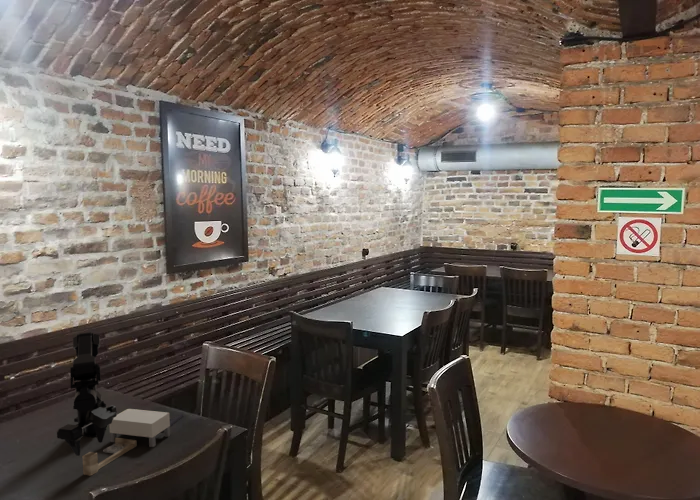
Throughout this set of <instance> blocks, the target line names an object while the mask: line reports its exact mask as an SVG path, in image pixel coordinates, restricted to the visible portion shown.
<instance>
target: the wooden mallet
mask: <svg viewBox="0 0 700 500" xmlns="http://www.w3.org/2000/svg"><path fill="white" fill-rule="evenodd" d="M114 443H122V444H128V446H126V447H125V448H123V449H121V450H120V451H118V452H117V453H115V454H112V455H109V456H108V457H107V458H105V459H103V460H102V461H100V462H99V459H98V452H93V451H89V452H87V453H85V454H83V455H82V471H83V472H82V473H83V475H84V476H93V475H94V474H96V473H98V472H99V470H100V469H101V468H103V467H105V466H106V465H108V464H109V463H112V462H113V461H114V460H116V459H118V458H119V457H122V456H123V455H124V454H125V453H127V452H129V451H131V450H133V449H134V448H136V447H137V440H135V439H128V438H122V437H117V438H115V442H114Z"/></svg>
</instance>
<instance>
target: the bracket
mask: <svg viewBox="0 0 700 500" xmlns="http://www.w3.org/2000/svg"><path fill="white" fill-rule="evenodd" d="M183 418H184V414H182V413H180V414H179V415H178V416H176V417H173V419H172V418H170V428H172V427H173V426H174V425H175V424H176V423H177V422H178V420H179V421H180V420H182V419H183ZM173 424H174V425H173ZM162 432H163V433H164V430H163V431H162Z"/></svg>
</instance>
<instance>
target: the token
mask: <svg viewBox="0 0 700 500" xmlns="http://www.w3.org/2000/svg"><path fill="white" fill-rule="evenodd" d="M126 446H128V444H122V443H115V442H113V444H111V445H109V446H107V447H106V448H104V449H103V450H102V453H108V454H112V455H113V454H115V453H117V452H118V451H120V450H121V449H123V448H125V447H126Z"/></svg>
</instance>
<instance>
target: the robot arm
mask: <svg viewBox="0 0 700 500" xmlns="http://www.w3.org/2000/svg"><path fill="white" fill-rule="evenodd" d="M100 347H101V338H100V334H97V333H96V334H95V333H94V332H89V331H88V332H82V333H81V332H80V333H78V334H77V335H76V336H74V337H72V348H73V350H74V351H75V353H76V355H75V356H76V358H74V359H73V361H72V366H70V367H69V369H70V370H69V371H70V373H69V374H70V389H75V395H74V398H73V399H74V400H73V407H72V408H73V410H76V417H75V418H73V419H74V420H73V422H74V423H77V424H69V423H67V424H66V425H64V426H62V427H59V428H58V429H57V431H56V439H60V440H64V441H65V442H66V443H67V444H68V446H69V447H70V448H71V450H72V451H73V453H74V454H75V456H77V457H80V456H81V439H83V437H91V438H95V437H96V439H97V442H98V443H103V440H104V438H105V437H104V436H105V433H106V430H107V428H108V427H107V426H109V424H111V423H112V420H113V418H114V417H116V416H117V415H118V414H117V406H115V405H113V404H112V405H109V406H107V404H106V403H105V400H102V398H103V397H102V394H101V393H100V392H99V391H98V389H97V385H98V386H99V381H101V379H102V378H101V366H100V364H99V363H96V357H97V356H98V355H99V348H100Z"/></svg>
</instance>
